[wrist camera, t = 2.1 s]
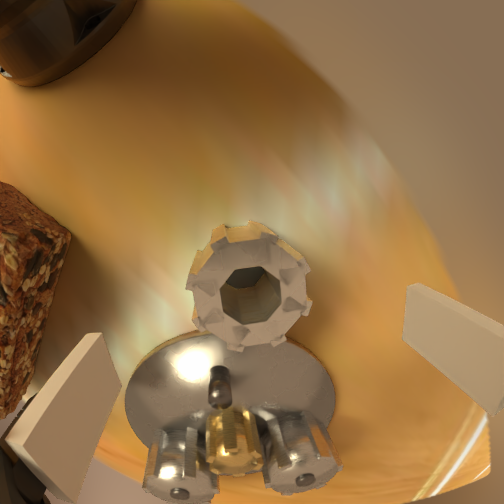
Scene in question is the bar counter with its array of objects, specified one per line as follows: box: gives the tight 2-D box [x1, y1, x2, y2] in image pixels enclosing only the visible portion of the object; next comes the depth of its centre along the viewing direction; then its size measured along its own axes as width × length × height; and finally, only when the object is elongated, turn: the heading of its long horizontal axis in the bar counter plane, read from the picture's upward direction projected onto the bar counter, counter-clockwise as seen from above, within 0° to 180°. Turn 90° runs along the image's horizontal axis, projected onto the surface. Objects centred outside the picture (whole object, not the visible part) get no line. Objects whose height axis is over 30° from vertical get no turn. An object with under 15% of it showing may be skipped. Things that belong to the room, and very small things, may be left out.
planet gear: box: [186, 220, 313, 352], centre depth 18 cm, size 7×7×6 cm
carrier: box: [125, 330, 343, 504], centre depth 20 cm, size 20×20×8 cm
